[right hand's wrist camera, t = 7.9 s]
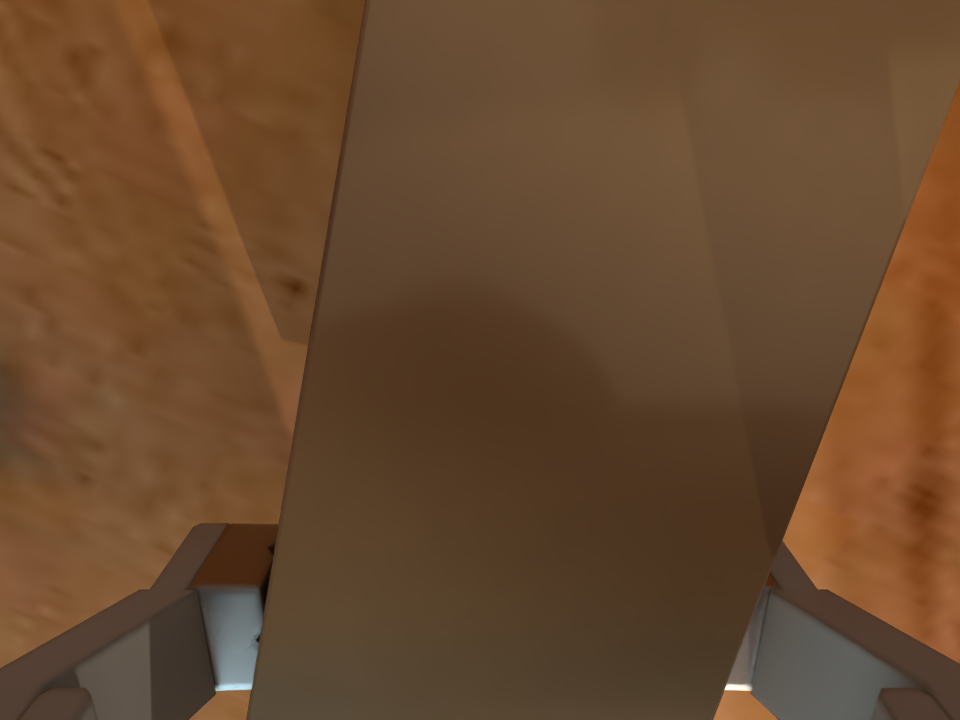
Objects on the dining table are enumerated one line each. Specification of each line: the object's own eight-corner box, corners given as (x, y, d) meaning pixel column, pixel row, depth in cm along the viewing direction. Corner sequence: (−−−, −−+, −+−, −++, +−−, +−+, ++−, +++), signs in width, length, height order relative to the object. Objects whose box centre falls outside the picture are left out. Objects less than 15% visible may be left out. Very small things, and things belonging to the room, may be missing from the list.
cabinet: (486, -205, 14) (541, -1082, 4) (737, -133, 14) (1297, -778, 5) (342, 538, 18) (209, 931, 9) (536, 575, 19) (613, 985, 9)
